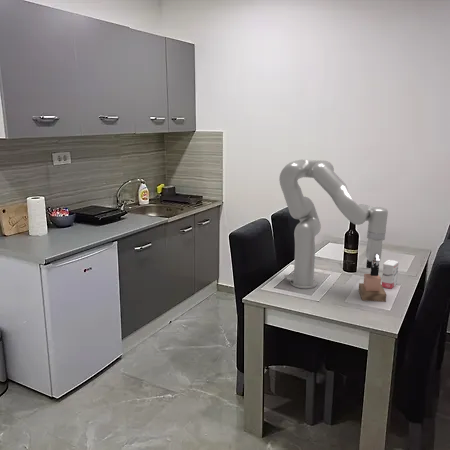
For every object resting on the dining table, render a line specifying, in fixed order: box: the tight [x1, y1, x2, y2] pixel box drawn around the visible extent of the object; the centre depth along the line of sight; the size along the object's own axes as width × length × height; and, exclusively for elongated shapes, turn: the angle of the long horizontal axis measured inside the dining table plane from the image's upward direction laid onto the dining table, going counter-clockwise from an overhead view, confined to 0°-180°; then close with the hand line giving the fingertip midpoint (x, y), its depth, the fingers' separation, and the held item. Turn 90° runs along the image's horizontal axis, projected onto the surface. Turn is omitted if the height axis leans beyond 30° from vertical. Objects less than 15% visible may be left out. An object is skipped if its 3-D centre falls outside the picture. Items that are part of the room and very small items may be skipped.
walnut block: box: [358, 282, 387, 303], centre depth 201 cm, size 10×12×4 cm
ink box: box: [381, 259, 400, 290], centre depth 213 cm, size 9×5×12 cm, turn 142°
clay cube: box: [363, 273, 382, 291], centre depth 200 cm, size 6×6×6 cm
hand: (371, 271), depth 199 cm, fingers open, 9 cm apart
